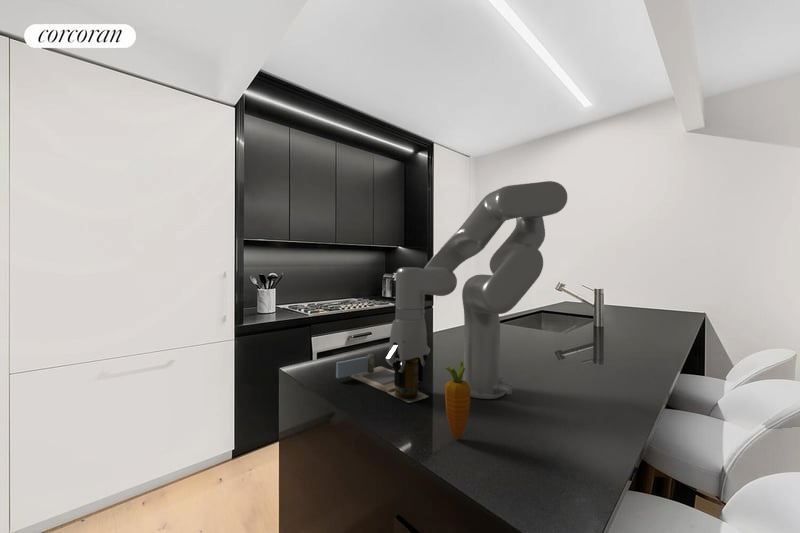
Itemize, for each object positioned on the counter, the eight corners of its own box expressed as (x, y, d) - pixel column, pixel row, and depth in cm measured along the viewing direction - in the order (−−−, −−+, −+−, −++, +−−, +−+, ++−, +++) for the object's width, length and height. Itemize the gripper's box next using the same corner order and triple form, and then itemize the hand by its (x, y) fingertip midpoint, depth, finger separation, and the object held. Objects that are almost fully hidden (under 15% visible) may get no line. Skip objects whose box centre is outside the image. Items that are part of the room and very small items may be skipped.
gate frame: (419, 382, 97) (419, 361, 97) (388, 393, 88) (388, 370, 88) (380, 368, 109) (381, 350, 109) (350, 376, 101) (350, 357, 101)
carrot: (452, 448, 62) (454, 367, 62) (439, 435, 66) (440, 360, 66) (475, 443, 64) (476, 364, 64) (460, 431, 68) (461, 358, 68)
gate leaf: (366, 370, 103) (366, 356, 103) (367, 371, 102) (368, 357, 102) (336, 377, 96) (336, 362, 96) (337, 378, 95) (338, 363, 95)
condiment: (408, 387, 93) (408, 344, 93) (429, 397, 86) (430, 350, 86) (387, 393, 88) (387, 348, 88) (408, 404, 81) (409, 355, 81)
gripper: (421, 310, 96) (420, 372, 96) (375, 315, 84) (374, 387, 84) (442, 313, 90) (440, 379, 90) (395, 319, 78) (394, 396, 78)
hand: (408, 382), depth 87 cm, fingers closed on condiment, 6 cm apart
